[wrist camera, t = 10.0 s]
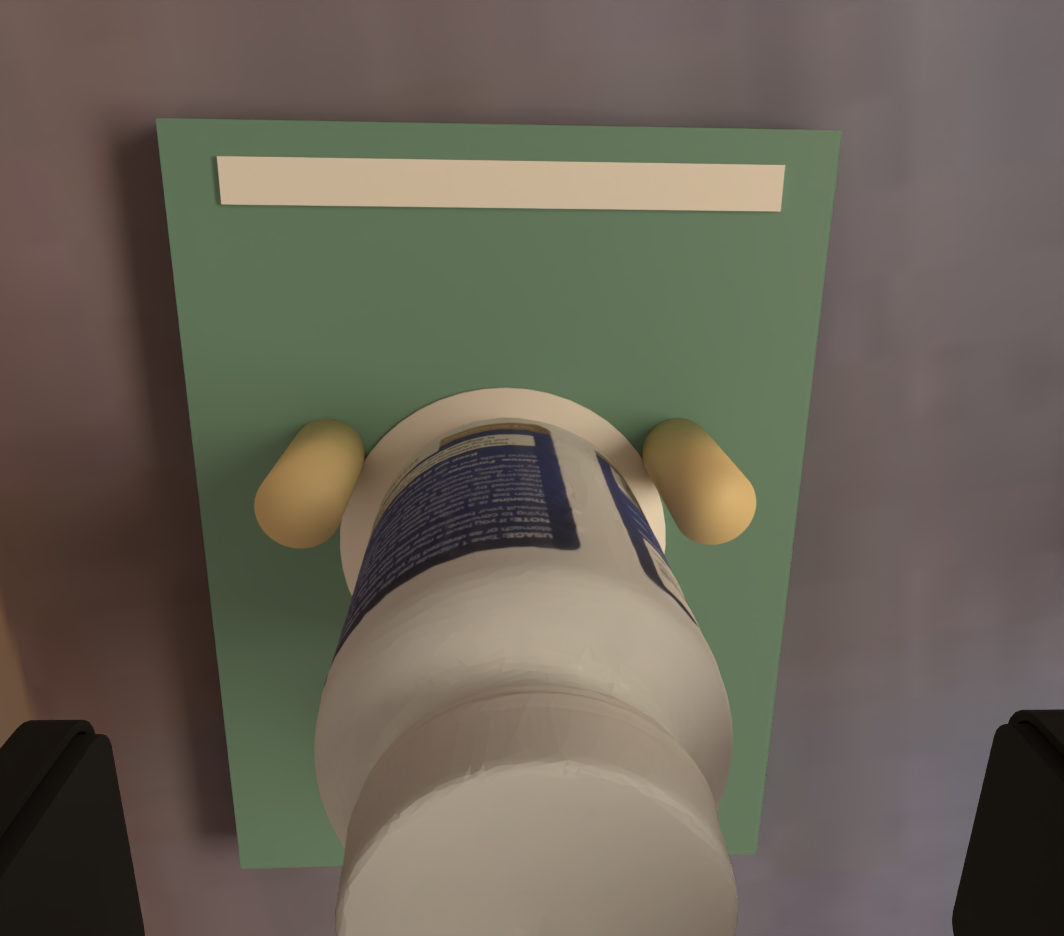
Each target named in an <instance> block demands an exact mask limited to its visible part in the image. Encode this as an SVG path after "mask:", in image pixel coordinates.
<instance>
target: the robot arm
mask: <svg viewBox="0 0 1064 936" xmlns="http://www.w3.org/2000/svg"><path fill="white" fill-rule="evenodd" d="M952 926H953V933H954V936H1064V710H1021V711H1018V712H1015V713H1014V714H1013V716H1012V717H1011V718H1010V720H1009V723H1008V724H1004V725H1001V726H1000V727H999V728H998V729H997V730H996V733H995V735H994V739H993V743H992V748H991V752H990V756H989V760H988V765H987V769H986V773H985V777H984V782H983V786H982V790H981V794H980V799H979V803H978V807H977V812H976V816H975V820H974V824H973V829H972V833H971V837H970V841H969V846H968V850H967V854H966V859H965V863H964V867H963V871H962V876H961V880H960V884H959V888H958V893H957V897H956V901H955V906H954V910H953V916H952ZM0 936H145V932H144V925H143V919H142V914H141V908H140V902H139V897H138V891H137V886H136V880H135V874H134V869H133V863H132V858H131V852H130V847H129V841H128V835H127V830H126V824H125V819H124V813H123V807H122V802H121V796H120V791H119V785H118V779H117V774H116V768H115V763H114V757H113V752H112V746H111V743H110V740H109V738H108V737H107V736H106V735H103V734H95V732H94V729H93V727H92V725H91V724H90V723H89V722H88V721H85V720H30V721H27V722H24V723H23V724H22V725H20V726H19V727H18V728H17V729H16V730H15V732H14V733H13V734H12V735H11V737H9V739H8V740H7V741H6V742H5V744H4V745H3V746H2V747H1V748H0Z"/></svg>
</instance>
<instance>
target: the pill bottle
mask: <svg viewBox="0 0 1064 936" xmlns="http://www.w3.org/2000/svg"><path fill="white" fill-rule="evenodd" d="M732 746H733V732H732V717H731V712H730V706H729V701H728V697H727V693H726V689H725V686H724V683H723V680H722V678H721V675H720V672H719V668H718V666H717V663H716V660H715V658H714V656H713V654H712V652H711V649H710V647H709V645H708V643H707V641H706V640H705V638H704V636H703V634H702V632H701V630H700V628H699V625H698V623H697V621H696V619H695V617H694V615H693V613H692V611H691V609H690V607H689V605H688V603H687V601H686V599H685V597H684V595H683V593H682V590H681V588H680V586H679V584H678V582H677V580H676V578H675V576H674V574H673V572H672V570H671V568H670V566H669V563H668V561H667V559H666V557H665V555H664V553H663V551H662V549H661V546H660V544H659V542H658V540H657V539H656V537H655V535H654V533H653V531H652V529H651V527H650V525H649V523H648V521H647V519H646V517H645V515H644V513H643V511H642V509H641V507H640V505H639V503H638V501H637V499H636V497H635V496H634V494H633V492H632V491H631V489H630V487H629V485H628V484H627V482H626V480H625V479H624V477H623V476H622V474H621V473H620V472H619V470H618V469H617V468H616V466H615V465H614V464H613V463H612V462H611V461H610V460H609V458H608V457H607V456H606V455H605V454H604V453H603V452H602V451H600V450H599V449H598V448H597V447H596V446H595V445H593V444H591V443H590V442H588V441H587V440H585V439H583V438H582V437H580V436H578V435H576V434H574V433H572V432H569V431H567V430H565V429H562V428H560V427H558V426H555V425H552V424H548V423H544V422H540V421H534V420H528V419H523V418H496V419H489V420H483V421H477V422H472V423H469V424H466V425H462V426H460V427H458V428H455V429H453V430H450V431H448V432H446V433H444V434H443V435H441V436H439V437H437V438H436V439H434V440H433V441H431V442H430V443H428V444H427V445H425V446H424V447H423V448H422V449H421V450H419V451H418V452H417V453H416V454H415V455H414V456H413V457H412V458H411V459H410V460H409V461H408V462H407V463H406V464H405V465H404V467H403V468H402V469H401V470H400V471H399V473H398V474H397V475H396V477H395V478H394V480H393V481H392V483H391V485H390V486H389V488H388V490H387V492H386V494H385V496H384V498H383V500H382V503H381V506H380V508H379V511H378V513H377V515H376V518H375V520H374V524H373V527H372V531H371V535H370V538H369V542H368V545H367V548H366V551H365V555H364V558H363V561H362V565H361V568H360V571H359V574H358V578H357V581H356V585H355V588H354V592H353V595H352V598H351V602H350V605H349V609H348V612H347V616H346V619H345V622H344V625H343V628H342V631H341V635H340V638H339V642H338V645H337V648H336V651H335V654H334V657H333V660H332V664H331V667H330V670H329V673H328V676H327V679H326V681H325V684H324V687H323V690H322V697H321V702H320V706H319V711H318V717H317V722H316V727H315V743H314V758H315V771H316V778H317V784H318V788H319V792H320V796H321V800H322V803H323V805H324V808H325V811H326V814H327V816H328V819H329V821H330V823H331V825H332V827H333V829H334V831H335V833H336V835H337V836H338V838H339V840H340V841H341V843H342V845H343V846H344V848H345V852H344V859H343V865H342V872H341V878H340V884H339V890H338V897H337V903H336V909H335V930H336V936H735V933H736V927H737V922H738V897H737V889H736V883H735V878H734V874H733V869H732V866H731V862H730V859H729V856H728V852H727V849H726V846H725V842H724V839H723V835H722V832H721V829H720V825H719V818H718V814H717V810H718V808H719V805H720V803H721V801H722V798H723V795H724V791H725V788H726V784H727V780H728V776H729V772H730V766H731V759H732Z"/></svg>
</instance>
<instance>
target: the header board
mask: <svg viewBox="0 0 1064 936" xmlns="http://www.w3.org/2000/svg"><path fill="white" fill-rule="evenodd" d="M155 119H156V128H157V136H158V145H159V154H160V163H161V172H162V180H163V189H164V198H165V207H166V215H167V224H168V233H169V242H170V250H171V259H172V268H173V277H174V286H175V294H176V303H177V312H178V321H179V329H180V338H181V347H182V356H183V364H184V373H185V382H186V391H187V400H188V408H189V417H190V426H191V435H192V443H193V452H194V461H195V470H196V479H197V487H198V496H199V505H200V514H201V522H202V531H203V540H204V549H205V557H206V566H207V575H208V584H209V593H210V601H211V610H212V619H213V628H214V636H215V645H216V654H217V663H218V671H219V680H220V689H221V698H222V707H223V715H224V724H225V733H226V742H227V750H228V759H229V768H230V777H231V786H232V794H233V803H234V812H235V821H236V829H237V838H238V847H239V856H240V864H241V869H254V868H289V867H323V866H342V865H343V859H344V852H345V848H344V846H343V845H342V843H341V841H340V840H339V838H338V836H337V835H336V833H335V831H334V829H333V827H332V825H331V823H330V821H329V819H328V816H327V814H326V811H325V808H324V805H323V803H322V800H321V796H320V792H319V788H318V784H317V778H316V771H315V758H314V743H315V727H316V722H317V717H318V711H319V706H320V702H321V697H322V690H323V687H324V684H325V681H326V679H327V676H328V673H329V670H330V667H331V664H332V660H333V657H334V654H335V651H336V648H337V645H338V642H339V638H340V635H341V631H342V628H343V625H344V622H345V619H346V616H347V612H348V609H349V605H350V602H351V598H352V595H353V592H354V588H355V585H356V581H357V578H358V574H359V571H360V568H361V565H362V561H363V558H364V555H365V551H366V548H367V545H368V542H369V538H370V535H371V531H372V527H373V524H374V520H375V518H376V515H377V513H378V511H379V508H380V506H381V503H382V500H383V498H384V496H385V494H386V492H387V490H388V488H389V486H390V485H391V483H392V481H393V480H394V478H395V477H396V475H397V474H398V473H399V471H400V470H401V469H402V468H403V467H404V465H405V464H406V463H407V462H408V461H409V460H410V459H411V458H412V457H413V456H414V455H415V454H416V453H417V452H418V451H419V450H421V449H422V448H423V447H424V446H425V445H427V444H428V443H430V442H431V441H433V440H434V439H436V438H437V437H439V436H441V435H443V434H444V433H446V432H448V431H450V430H453V429H455V428H458V427H460V426H462V425H466V424H469V423H472V422H477V421H483V420H489V419H496V418H523V419H528V420H534V421H540V422H544V423H548V424H552V425H555V426H558V427H560V428H562V429H565V430H567V431H569V432H572V433H574V434H576V435H578V436H580V437H582V438H583V439H585V440H587V441H588V442H590V443H591V444H593V445H595V446H596V447H597V448H598V449H599V450H600V451H602V452H603V453H604V454H605V455H606V456H607V457H608V458H609V460H610V461H611V462H612V463H613V464H614V465H615V466H616V468H617V469H618V470H619V472H620V473H621V474H622V476H623V477H624V479H625V480H626V482H627V484H628V485H629V487H630V489H631V491H632V492H633V494H634V496H635V497H636V499H637V501H638V503H639V505H640V507H641V509H642V511H643V513H644V515H645V517H646V519H647V521H648V523H649V525H650V527H651V529H652V531H653V533H654V535H655V537H656V539H657V540H658V542H659V544H660V546H661V549H662V551H663V553H664V555H665V557H666V559H667V561H668V563H669V566H670V568H671V570H672V572H673V574H674V576H675V578H676V580H677V582H678V584H679V586H680V588H681V590H682V593H683V595H684V597H685V599H686V601H687V603H688V605H689V607H690V609H691V611H692V613H693V615H694V617H695V619H696V621H697V623H698V625H699V628H700V630H701V632H702V634H703V636H704V638H705V640H706V641H707V643H708V645H709V647H710V649H711V652H712V654H713V656H714V658H715V660H716V663H717V666H718V668H719V672H720V675H721V678H722V680H723V683H724V686H725V689H726V693H727V697H728V701H729V706H730V712H731V717H732V732H733V746H732V759H731V766H730V772H729V776H728V780H727V784H726V788H725V791H724V795H723V798H722V801H721V803H720V805H719V808H718V810H717V814H718V818H719V825H720V829H721V832H722V835H723V839H724V842H725V846H726V849H727V852H728V855H737V854H756V853H757V845H758V836H759V828H760V820H761V811H762V803H763V794H764V786H765V777H766V769H767V760H768V752H769V743H770V735H771V726H772V718H773V709H774V701H775V693H776V684H777V676H778V667H779V659H780V650H781V642H782V633H783V625H784V616H785V608H786V599H787V591H788V583H789V574H790V566H791V557H792V549H793V540H794V532H795V523H796V515H797V506H798V498H799V489H800V481H801V473H802V464H803V456H804V447H805V439H806V430H807V422H808V413H809V405H810V396H811V388H812V379H813V371H814V362H815V354H816V346H817V337H818V329H819V320H820V312H821V303H822V295H823V286H824V278H825V269H826V261H827V252H828V244H829V236H830V227H831V219H832V210H833V202H834V193H835V185H836V176H837V168H838V159H839V151H840V142H841V134H842V130H790V129H735V128H679V127H624V126H568V125H513V124H458V123H402V122H347V121H292V120H236V119H181V118H155Z"/></svg>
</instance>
